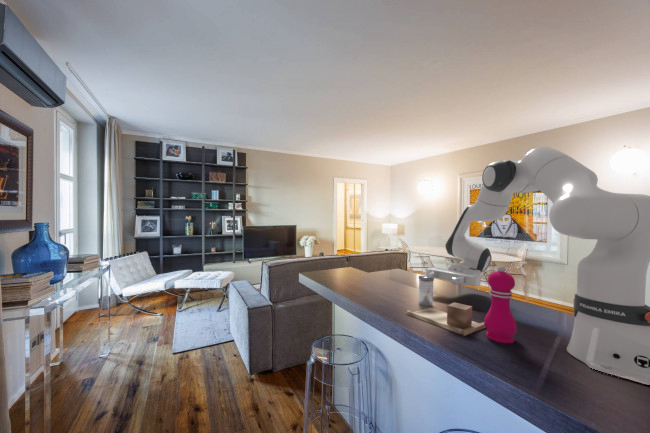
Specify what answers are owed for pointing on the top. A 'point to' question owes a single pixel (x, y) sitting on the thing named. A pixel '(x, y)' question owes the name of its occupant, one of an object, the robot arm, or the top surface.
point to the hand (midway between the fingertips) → (442, 278)
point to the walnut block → (459, 315)
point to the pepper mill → (500, 307)
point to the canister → (426, 290)
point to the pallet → (443, 320)
